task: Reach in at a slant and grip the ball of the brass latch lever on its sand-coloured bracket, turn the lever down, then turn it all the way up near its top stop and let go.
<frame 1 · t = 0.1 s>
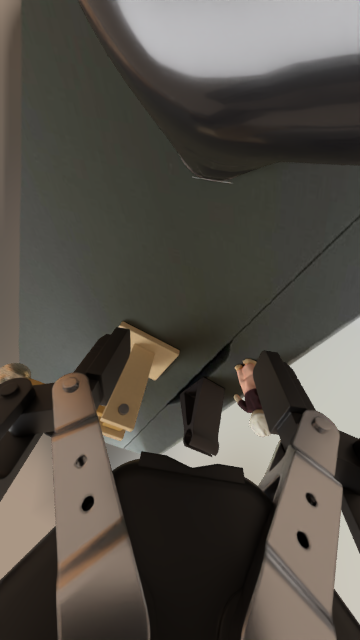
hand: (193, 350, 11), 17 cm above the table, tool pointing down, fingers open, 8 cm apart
lever: (66, 398, 25), point 13 cm above the table, hinge at 0.0°
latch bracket: (141, 351, 37), on the table
grandmother figurine: (247, 363, 36), on the table
phone stand: (201, 390, 43), on the table
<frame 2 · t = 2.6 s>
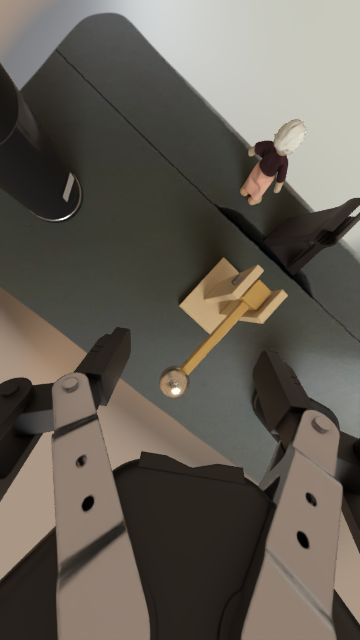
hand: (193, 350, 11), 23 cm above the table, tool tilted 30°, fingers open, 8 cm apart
lever: (212, 339, 22), point 13 cm above the table, hinge at 0.0°
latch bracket: (219, 300, 35), on the table
pen holder: (271, 400, 38), on the table
grandmother figurine: (248, 192, 35), on the table
phone stand: (287, 248, 36), on the table
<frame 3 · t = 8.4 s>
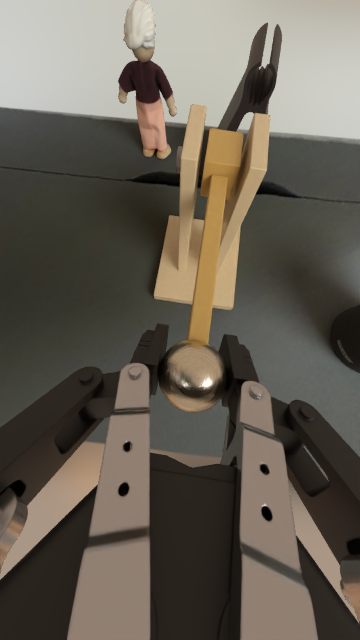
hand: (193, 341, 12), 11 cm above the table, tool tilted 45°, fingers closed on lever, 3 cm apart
lever: (208, 258, 11), point 13 cm above the table, hinge at 0.0°, touching gripper
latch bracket: (198, 263, 25), on the table
grandmother figurine: (153, 152, 30), on the table
phone stand: (231, 171, 29), on the table
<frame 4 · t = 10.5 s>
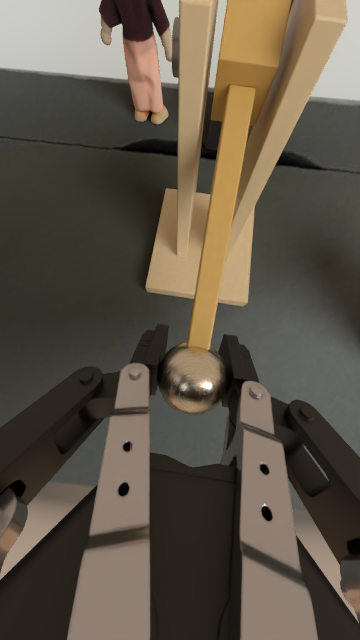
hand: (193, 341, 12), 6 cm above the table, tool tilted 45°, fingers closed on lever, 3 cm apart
lever: (215, 239, 9), point 10 cm above the table, hinge at -20.9°, touching gripper
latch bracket: (202, 248, 20), on the table
grandmother figurine: (147, 116, 25), on the table
phone stand: (241, 139, 24), on the table
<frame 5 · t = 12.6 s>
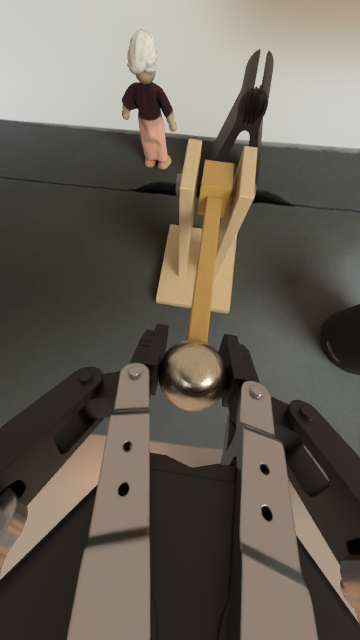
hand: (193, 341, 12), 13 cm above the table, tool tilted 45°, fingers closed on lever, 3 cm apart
lever: (205, 266, 12), point 14 cm above the table, hinge at 7.4°, touching gripper
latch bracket: (197, 269, 27), on the table
pen holder: (349, 341, 25), on the table
grandmother figurine: (154, 162, 31), on the table
phone stand: (229, 181, 31), on the table
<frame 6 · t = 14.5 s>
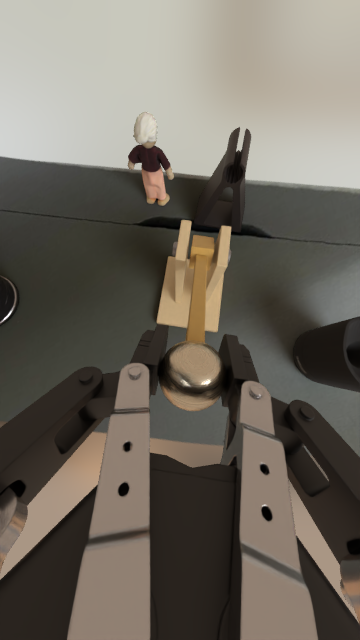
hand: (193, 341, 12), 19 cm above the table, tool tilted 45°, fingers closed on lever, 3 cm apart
lever: (198, 295, 15), point 17 cm above the table, hinge at 31.6°, touching gripper
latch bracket: (191, 294, 32), on the table
pen holder: (317, 355, 31), on the table
grandmother figurine: (155, 199, 36), on the table
phone stand: (219, 215, 36), on the table
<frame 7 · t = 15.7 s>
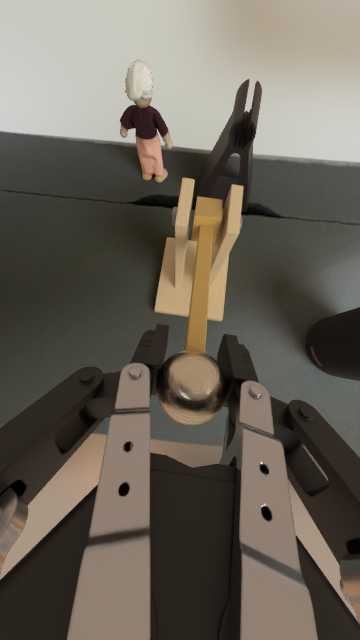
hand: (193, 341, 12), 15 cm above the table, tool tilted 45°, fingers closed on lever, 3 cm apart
lever: (200, 283, 13), point 15 cm above the table, hinge at 18.0°, touching gripper
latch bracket: (192, 279, 29), on the table
pen holder: (332, 346, 28), on the table
grandmother figurine: (151, 175, 33), on the table
phone stand: (222, 193, 32), on the table
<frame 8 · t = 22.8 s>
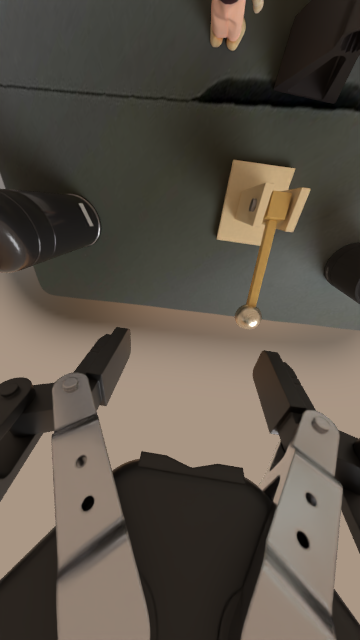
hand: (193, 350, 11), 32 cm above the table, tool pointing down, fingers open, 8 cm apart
lever: (260, 268, 25), point 15 cm above the table, hinge at 17.6°
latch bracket: (250, 207, 34), on the table
pen holder: (346, 264, 38), on the table
grandmother figurine: (222, 31, 24), on the table
phone stand: (314, 65, 25), on the table
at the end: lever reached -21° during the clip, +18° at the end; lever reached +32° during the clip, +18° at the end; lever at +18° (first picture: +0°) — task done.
